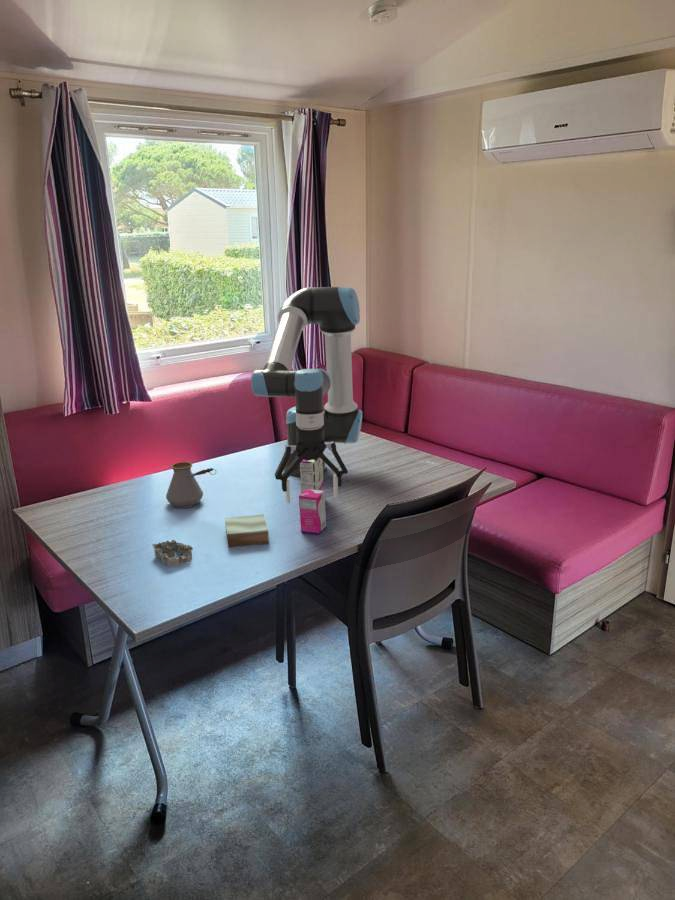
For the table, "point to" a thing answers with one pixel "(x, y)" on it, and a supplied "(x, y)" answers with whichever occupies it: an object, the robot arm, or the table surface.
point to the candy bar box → (311, 475)
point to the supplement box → (312, 511)
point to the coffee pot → (184, 486)
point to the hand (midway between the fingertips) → (312, 499)
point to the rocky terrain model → (172, 552)
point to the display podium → (246, 530)
